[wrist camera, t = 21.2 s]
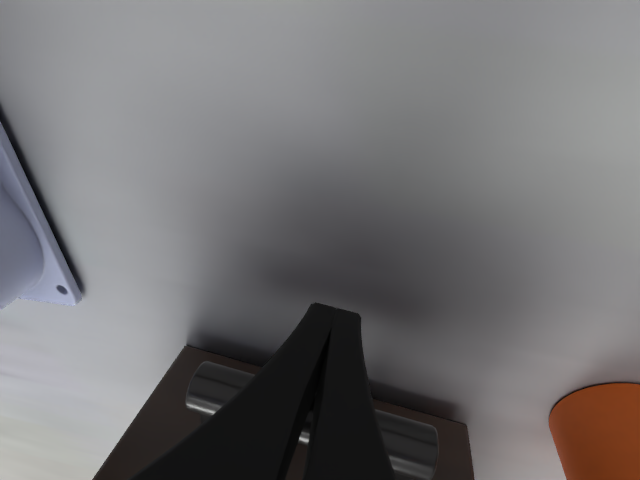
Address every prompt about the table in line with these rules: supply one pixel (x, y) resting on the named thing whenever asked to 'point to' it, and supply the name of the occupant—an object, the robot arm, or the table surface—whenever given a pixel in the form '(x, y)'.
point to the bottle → (599, 432)
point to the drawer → (231, 376)
